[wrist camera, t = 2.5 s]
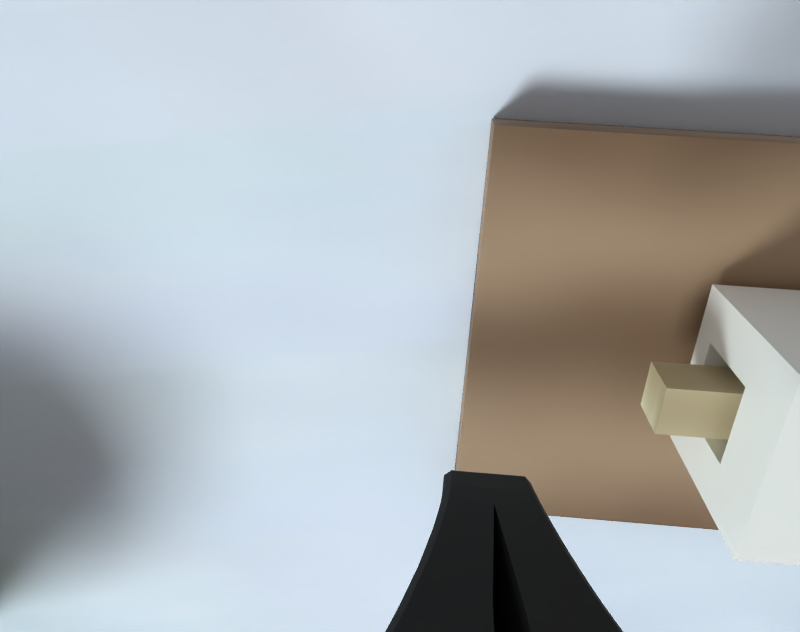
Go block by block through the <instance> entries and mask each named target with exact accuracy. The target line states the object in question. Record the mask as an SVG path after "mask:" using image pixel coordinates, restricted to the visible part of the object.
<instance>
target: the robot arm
mask: <svg viewBox="0 0 800 632" xmlns="http://www.w3.org/2000/svg"><path fill="white" fill-rule="evenodd" d="M385 632H623V631H622V630H621V628H620V627H619V626H618V624H617V623H616V621H615V620H614V619H613V617H612V616H611V614H610V613H609V612H608V610H607V609H606V608H605V606H604V605H603V603H602V602H601V600H600V599H599V598H598V596H597V595H596V593H595V592H594V590H593V589H592V587H591V586H590V584H589V583H588V581H587V580H586V578H585V577H584V575H583V573H582V572H581V570H580V569H579V567H578V566H577V564H576V563H575V561H574V559H573V558H572V556H571V555H570V553H569V552H568V550H567V548H566V547H565V545H564V543H563V542H562V540H561V538H560V537H559V535H558V533H557V531H556V530H555V528H554V526H553V524H552V523H551V521H550V519H549V517H548V516H547V514H546V512H545V510H544V508H543V506H542V504H541V503H540V501H539V499H538V497H537V495H536V493H535V491H534V489H533V487H532V485H531V483H530V481H529V480H528V479H527V478H526V477H525V476H515V475H503V474H490V473H478V472H466V471H453V470H451V471H450V472H448V473H447V474H445V475H444V482H443V492H442V499H441V503H440V507H439V511H438V514H437V517H436V521H435V524H434V527H433V530H432V533H431V535H430V538H429V540H428V543H427V545H426V548H425V551H424V553H423V556H422V558H421V561H420V563H419V566H418V568H417V570H416V572H415V574H414V576H413V578H412V580H411V583H410V585H409V587H408V589H407V591H406V593H405V595H404V597H403V599H402V601H401V603H400V606H399V607H398V609H397V611H396V613H395V615H394V617H393V619H392V621H391V622H390V624H389V626H388V628H387V630H386V631H385Z"/></svg>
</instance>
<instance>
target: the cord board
mask: <svg viewBox="0 0 800 632" xmlns="http://www.w3.org/2000/svg"><path fill="white" fill-rule="evenodd" d="M712 284H716V285H730V286H744V287H759V288H773V289H788V290H800V137H791V136H774V135H758V134H741V133H724V132H708V131H691V130H674V129H658V128H641V127H625V126H608V125H591V124H575V123H558V122H541V121H525V120H508V119H492V123H491V132H490V142H489V151H488V161H487V170H486V179H485V189H484V198H483V208H482V217H481V227H480V236H479V246H478V255H477V265H476V274H475V283H474V293H473V302H472V312H471V321H470V331H469V340H468V350H467V359H466V369H465V378H464V387H463V397H462V406H461V416H460V425H459V435H458V444H457V454H456V463H455V471H466V472H478V473H490V474H503V475H515V476H525V477H526V478H527V479H528V480H529V481H530V483H531V485H532V487H533V489H534V491H535V493H536V495H537V497H538V499H539V501H540V503H541V504H542V506H543V508H544V510H545V512H546V514H547V515H549V516H561V517H572V518H584V519H596V520H608V521H620V522H632V523H643V524H655V525H667V526H679V527H691V528H703V529H714V530H719V529H718V528H717V526H716V524H715V522H714V520H713V518H712V516H711V514H710V512H709V510H708V508H707V506H706V504H705V503H704V501H703V499H702V497H701V495H700V493H699V491H698V489H697V487H696V485H695V483H694V481H693V480H692V478H691V476H690V474H689V472H688V470H687V468H686V466H685V464H684V462H683V460H682V458H681V457H680V455H679V453H678V451H677V449H676V447H675V445H674V443H673V441H672V439H671V437H670V435H675V436H688V437H701V438H713V439H726V440H728V439H729V436H730V433H731V430H732V427H733V424H734V421H735V418H736V414H737V411H738V408H739V405H740V402H741V399H742V396H743V393H744V390H745V386H744V385H743V384H742V382H741V381H740V380H739V378H738V377H737V376H736V375H735V373H734V372H733V371H732V370H731V368H730V367H722V366H708V365H695V364H690V363H691V359H692V356H693V352H694V349H695V345H696V341H697V338H698V334H699V330H700V327H701V323H702V320H703V316H704V312H705V309H706V305H707V302H708V298H709V294H710V291H711V287H712Z"/></svg>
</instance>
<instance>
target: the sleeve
mask: <svg viewBox="0 0 800 632" xmlns="http://www.w3.org/2000/svg"><path fill="white" fill-rule="evenodd" d="M690 364H695V365H708V366H722V367H730V368H731V370H732V371H733V372H734V373H735V375H736V376H737V377H738V378H739V380H740V381H741V382H742V384H743V385H744V386H745V390H744V393H743V396H742V399H741V402H740V405H739V408H738V411H737V414H736V418H735V421H734V424H733V427H732V430H731V433H730V436H729V439H728V440H726V439H713V438H701V437H688V436H675V435H670V437H671V439H672V441H673V443H674V445H675V447H676V449H677V451H678V453H679V455H680V457H681V458H682V460H683V462H684V464H685V466H686V468H687V470H688V472H689V474H690V476H691V478H692V480H693V481H694V483H695V485H696V487H697V489H698V491H699V493H700V495H701V497H702V499H703V501H704V503H705V504H706V506H707V508H708V510H709V512H710V514H711V516H712V518H713V520H714V522H715V524H716V526H717V528H718V529H719V531H720V533H721V535H722V537H723V539H724V541H725V543H726V545H727V547H728V549H729V551H730V552H731V554H732V556H733V558H734V560H738V561H750V562H761V563H773V564H785V565H796V566H800V290H788V289H773V288H759V287H744V286H730V285H716V284H712V287H711V291H710V294H709V298H708V302H707V305H706V309H705V312H704V316H703V320H702V323H701V327H700V330H699V334H698V338H697V341H696V345H695V349H694V352H693V356H692V359H691V363H690Z"/></svg>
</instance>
